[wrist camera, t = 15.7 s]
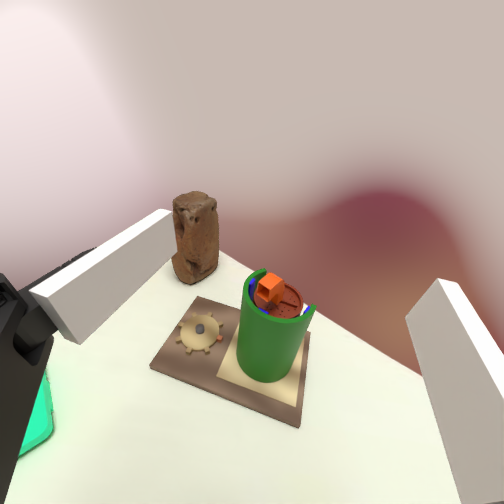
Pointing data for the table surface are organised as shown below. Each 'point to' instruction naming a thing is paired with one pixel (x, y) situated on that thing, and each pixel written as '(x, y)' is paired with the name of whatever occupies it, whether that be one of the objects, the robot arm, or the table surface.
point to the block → (195, 236)
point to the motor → (270, 327)
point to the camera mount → (39, 418)
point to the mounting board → (228, 363)
